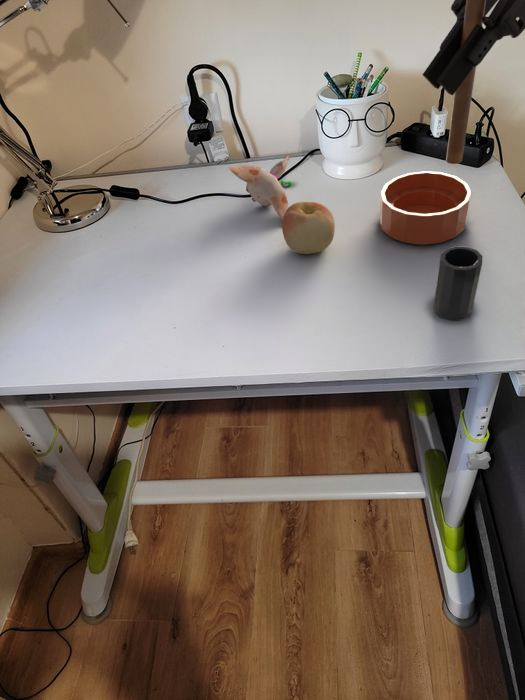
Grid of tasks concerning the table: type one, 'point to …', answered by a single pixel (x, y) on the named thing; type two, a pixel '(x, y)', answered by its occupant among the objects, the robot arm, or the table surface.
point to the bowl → (424, 207)
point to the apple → (308, 227)
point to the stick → (464, 88)
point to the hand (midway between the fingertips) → (437, 84)
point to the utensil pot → (457, 282)
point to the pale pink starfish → (265, 185)
